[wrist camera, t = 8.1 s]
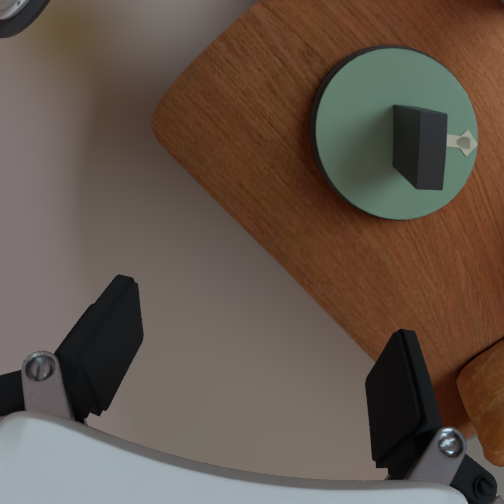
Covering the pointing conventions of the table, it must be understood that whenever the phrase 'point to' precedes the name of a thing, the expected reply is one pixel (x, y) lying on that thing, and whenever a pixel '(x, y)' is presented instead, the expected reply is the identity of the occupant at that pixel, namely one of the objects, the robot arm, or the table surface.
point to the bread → (486, 400)
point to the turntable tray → (372, 130)
